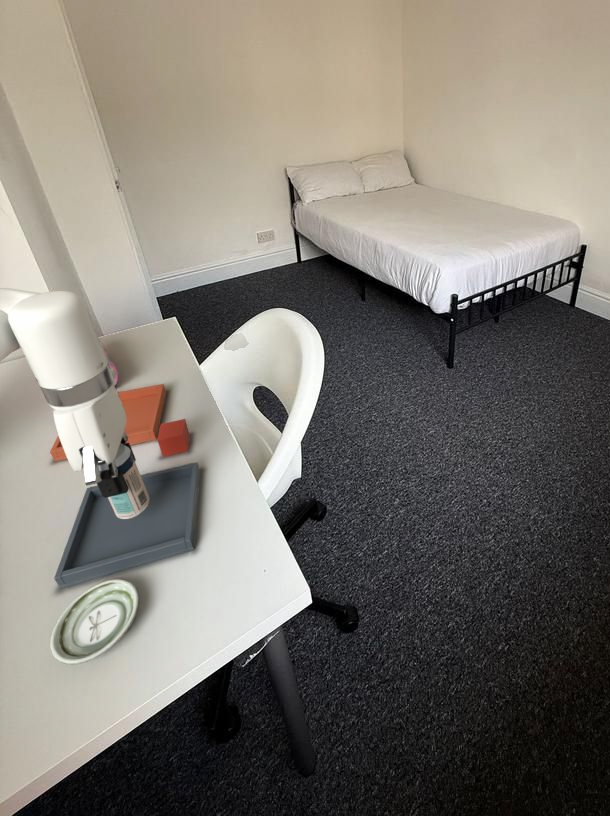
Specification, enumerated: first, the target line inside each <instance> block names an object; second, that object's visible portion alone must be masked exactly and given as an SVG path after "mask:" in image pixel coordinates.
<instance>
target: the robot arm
mask: <svg viewBox="0 0 610 816" xmlns="http://www.w3.org/2000/svg"><path fill="white" fill-rule="evenodd" d="M102 345H103V344H102V343H101V340H100V337H99V335H98V332H97V330H96V326H95V325H94V322H93V319H92V316H91V313H90V311H89V309H88V307H87V303H86V301H85V300H84V299H83V297H81V295H79V294H78V293H76V292H74V291H69V290H52V291H45V292H34V291H28V290H22V289H18V288H17V289H16V288H9V287H8V288H6V287H0V362H2V361H3V360H5V359H6V358H7V357H8V356H9V355H11V354H12V353H14V352H15V351H18V350H19V349H21V351H22V353H23V355H24V357H25V359H26V362H27V363H28V366H29V367H30V369H31V371H32V373H33V375H34V377H35V380H36V382H37V384H38V385H39V388H40V390H41V391H42V394H43V396H44V398H45V400H46V402H47V404H48V406H49V407H50V408H52V409H53V411H52V415H53V421H54V425H55V428H56V433H57V437H58V436H59V439H60V441H61V444H62V447H63V449H64V452H65V454H66V457H67V459H66V460H67V462H68V464H69V466H70V467H71V469H72V471H74V472H75V473H78V472H82V471H83V472H84V484H85V486H86V487H87V486H92V485H96V486H97V485H98V487H99V489H100V492H101V494H102V496H103V497H104V498H107V497H111V496H115V495H120V494H124V493H127V492H128V486H127V483H126V481H125V479H124V476H123V474H122V472H121V471H118V470H117V466H116V463H115V457H116V454H117V451H118V448H119V445H120V443H121V444H123V445H125V446H127V447H129V449H130V450H131V453H132V455H133V458H134V460H135V462H136V461H137V459H136V456H135V454H134V452H133V451H134V450H133V449H132V445H130V444H129V443H126V442H128V436H127V434H126V432H125V431H124V429H125V426H126V413H125V410H124V407H123V404H122V402H121V400H120V397H119V395H118V393H117V392H118V391H117V389H116V387H115V386H116V385H115V379H114V377H113V374H112V371H111V369H110V366H109V363H108V361H107V358H106V356H105V353H104V350H103V348H102ZM114 385H115V386H114ZM106 463H107V464H108V467H109V470H104V471H99V467H98V465H102V464H106Z"/></svg>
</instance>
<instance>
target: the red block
mask: <svg viewBox="0 0 610 816" xmlns="http://www.w3.org/2000/svg"><path fill="white" fill-rule="evenodd" d="M156 440H157V444H158V446H159V449H160V452H161V455H162V457H163V458H166V457H170V456H174V455H179V454H182V453H187V452H189V448H190V440H191V433H190V430H189V427H188V423H187V420H186V418H182V419H177V420H173V421H167V422H163V423H160V424H159V429H158V434H157V438H156Z"/></svg>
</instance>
